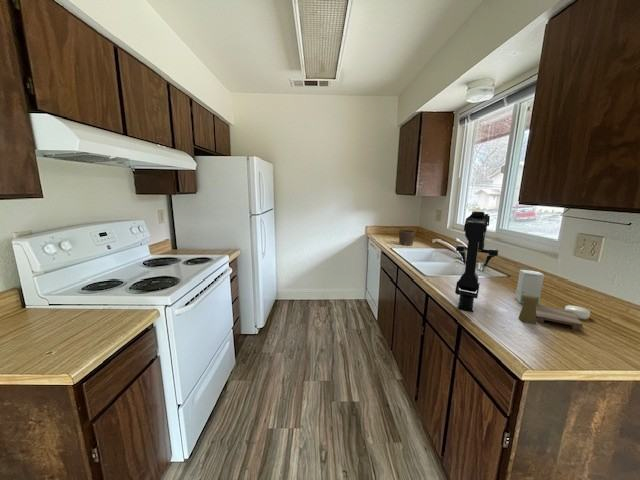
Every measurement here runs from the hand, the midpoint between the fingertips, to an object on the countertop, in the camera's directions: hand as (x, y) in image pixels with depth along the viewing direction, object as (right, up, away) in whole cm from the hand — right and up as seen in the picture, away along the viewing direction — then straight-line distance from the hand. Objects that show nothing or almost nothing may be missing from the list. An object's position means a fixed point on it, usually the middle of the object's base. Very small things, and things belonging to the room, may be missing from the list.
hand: (474, 266), depth 139 cm
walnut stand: (+18, -20, -27) cm, 38 cm away
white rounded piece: (+33, -20, -22) cm, 44 cm away
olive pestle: (+6, -21, -28) cm, 35 cm away
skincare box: (+21, -17, -8) cm, 28 cm away
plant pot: (+4, +7, +123) cm, 123 cm away
